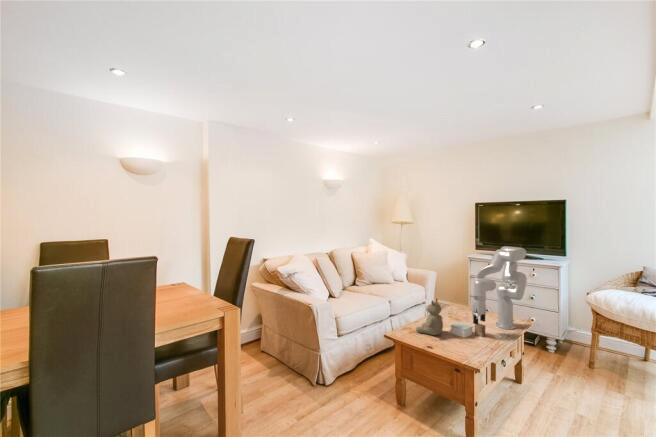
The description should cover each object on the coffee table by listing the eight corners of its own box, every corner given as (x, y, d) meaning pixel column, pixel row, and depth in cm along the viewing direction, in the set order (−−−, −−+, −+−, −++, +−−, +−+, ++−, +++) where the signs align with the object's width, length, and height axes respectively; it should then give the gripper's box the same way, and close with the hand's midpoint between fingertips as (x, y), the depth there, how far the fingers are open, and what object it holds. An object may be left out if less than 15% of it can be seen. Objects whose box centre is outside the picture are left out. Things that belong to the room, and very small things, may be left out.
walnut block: (478, 333, 212) (478, 323, 212) (485, 335, 208) (485, 325, 208) (474, 334, 209) (474, 324, 209) (481, 337, 205) (481, 327, 205)
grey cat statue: (425, 325, 227) (425, 293, 226) (446, 331, 216) (446, 297, 215) (412, 334, 212) (411, 299, 211) (434, 340, 201) (434, 304, 200)
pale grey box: (459, 329, 219) (459, 321, 218) (473, 334, 210) (472, 326, 210) (450, 333, 213) (450, 325, 213) (464, 338, 204) (464, 329, 204)
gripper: (480, 295, 216) (480, 318, 216) (467, 298, 206) (467, 323, 206) (491, 297, 210) (490, 321, 210) (478, 301, 200) (478, 326, 200)
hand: (479, 322), depth 208 cm, fingers open, 9 cm apart
